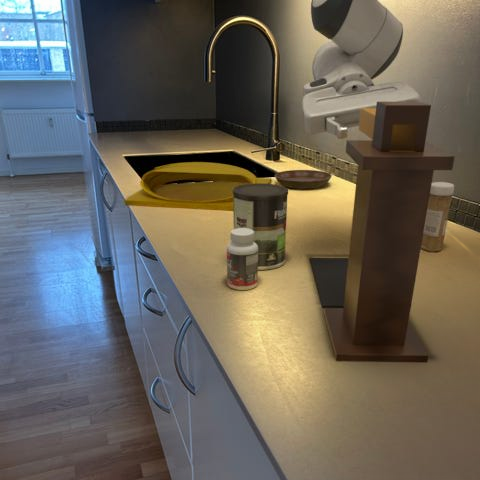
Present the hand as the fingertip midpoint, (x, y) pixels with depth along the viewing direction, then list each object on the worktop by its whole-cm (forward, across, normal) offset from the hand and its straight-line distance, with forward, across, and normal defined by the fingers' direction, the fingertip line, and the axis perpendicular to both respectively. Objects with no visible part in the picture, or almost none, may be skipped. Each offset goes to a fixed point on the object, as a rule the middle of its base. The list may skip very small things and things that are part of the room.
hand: (371, 129), depth 85 cm
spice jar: (0, -15, -30) cm, 33 cm away
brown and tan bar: (+17, +4, +8) cm, 19 cm away
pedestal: (+32, +9, -14) cm, 36 cm away
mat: (+14, +7, -21) cm, 26 cm away
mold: (-52, +32, -41) cm, 74 cm away
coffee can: (+2, +22, -23) cm, 31 cm away
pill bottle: (+13, +26, -18) cm, 34 cm away
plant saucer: (-59, +1, -48) cm, 76 cm away
